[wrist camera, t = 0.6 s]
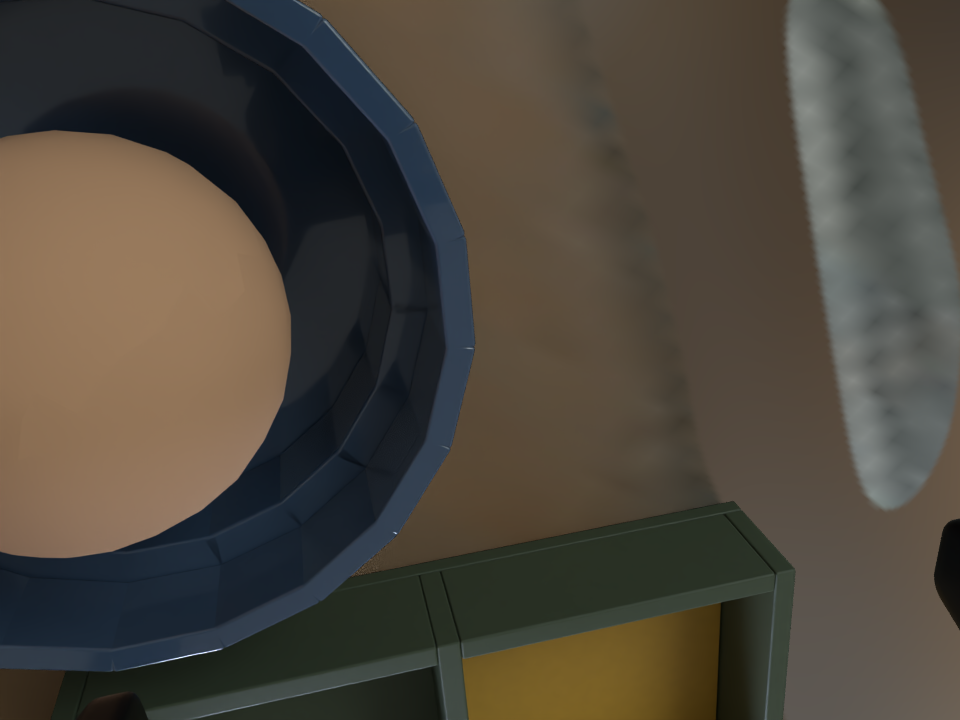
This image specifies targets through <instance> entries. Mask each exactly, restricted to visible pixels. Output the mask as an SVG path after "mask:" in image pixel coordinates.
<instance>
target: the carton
mask: <svg viewBox="0 0 960 720" xmlns="http://www.w3.org/2000/svg"><path fill="white" fill-rule="evenodd" d="M794 582H795V568H793V566H792V565H791V564H790V563H789V562H788V561H787V560H786V558H785V557H784V556H783V555H782V554H781V553H780V552H779V551H778V550H777V549H776V547H774V545H773V544H772V543H771V542H770V541H769V540H768V539H767V538H766V537H765V535H764V534H763V533H762V532H761V531H760V530H759V529H758V528H757V526H755V524H754V523H753V522H752V521H751V520H750V519H749V518H748V517H747V516H746V514H745V513H744V512H743V511H741V509H740V508H739V506H738V505H737V504H736V503H735V502H734V501H731V502H726V503H721V504H716V505H711V506H706V507H701V508H696V509H691V510H686V511H681V512H676V513H671V514H666V515H661V516H656V517H651V518H646V519H641V520H636V521H631V522H626V523H621V524H616V525H611V526H606V527H601V528H596V529H591V530H586V531H581V532H576V533H571V534H566V535H561V536H556V537H551V538H546V539H541V540H536V541H531V542H526V543H521V544H516V545H511V546H506V547H501V548H496V549H491V550H486V551H481V552H476V553H471V554H466V555H461V556H456V557H451V558H446V559H441V560H436V561H431V562H426V563H421V564H416V565H411V566H406V567H401V568H396V569H391V570H386V571H381V572H376V573H371V574H366V575H361V576H356V577H351V578H348V579H347V580H346V581H344V582H343V583H342V584H341V585H340V586H339V587H338V588H336V589H335V590H334V591H333V592H332V593H331V594H330V595H328V596H327V597H326V598H325V599H324V600H323V601H319V603H317V604H316V605H314V606H311V607H309V608H307V609H305V610H303V611H301V612H299V613H297V614H295V615H293V616H291V617H289V618H287V619H285V620H283V621H281V622H278V623H276V624H274V625H272V626H270V627H268V628H266V629H264V630H262V631H260V632H258V633H256V634H254V635H252V636H250V637H248V638H246V639H243V640H241V641H239V642H237V643H235V644H233V645H231V646H229V647H226V648H225V647H224V649H222V650H218V651H213V652H208V653H203V654H198V655H194V656H189V657H184V658H179V659H174V660H170V661H165V662H160V663H155V664H150V665H146V666H141V667H136V668H131V669H126V670H122V671H114V670H113V671H112V672H101V671H66V672H65V675H64V678H63V681H62V685H61V688H60V691H59V694H58V697H57V700H56V704H55V707H54V710H53V713H52V716H51V720H76V718H77V717H78V716H79V715H80V713H81V712H82V711H83V710H84V708H85V707H86V706H87V705H88V704H89V703H90V702H91V701H92V700H94V699H96V698H98V697H103V696H108V695H112V694H117V693H122V692H127V691H129V692H134V693H135V694H136V695H137V696H138V697H139V699H140V700H141V703H142V705H143V707H144V710H145V712H146V714H147V717H148V719H149V720H783V710H784V699H785V687H786V675H787V664H788V652H789V640H790V629H791V617H792V606H793V594H794Z"/></svg>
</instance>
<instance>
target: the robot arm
mask: <svg viewBox="0 0 960 720" xmlns="http://www.w3.org/2000/svg"><path fill="white" fill-rule="evenodd" d="M934 580H935V586H936V589H937V592H938V594H939V596H940V598H941V600H942V602H943V603H944V605H945V607H946V608H947V610H948V611H949V613H950V615H951V617H952V618H953V620H954V621H955V623H956V625H957V626H958V628H959V630H960V519H956V520H952V521H950V522H948V523H947V524H946V526H945V527H944V529H943V532H942V537H941V542H940V547H939V552H938V557H937V562H936V567H935V572H934ZM76 720H149V719H148V717H147V714H146V712H145V710H144V707H143V705H142V703H141V700H140V699H139V697H138V696H137V695H136V694H135V693H134V692H129V691H127V692H122V693H117V694H112V695H108V696H103V697H98V698H96V699H94V700H92V701H91V702H90V703H89V704H88V705H87V706H86V707H85V708H84V710H83V711H82V712H81V713H80V715H79V716H78V717H77V718H76Z"/></svg>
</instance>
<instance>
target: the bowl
mask: <svg viewBox="0 0 960 720" xmlns="http://www.w3.org/2000/svg"><path fill="white" fill-rule="evenodd" d="M52 130H57V131H71V132H84V133H98V134H111V135H115V136H118V137H121V138H124V139H127V140H130V141H133V142H136V143H139V144H142V145H145V146H149V147H152V148H155V149H158V150H161V151H164V152H167V153H169V154H170V155H172V156H174V157H176V158H178V159H179V160H181V161H183V162H185V163H187V164H189V165H190V166H191V167H193V168H194V169H195V170H196V171H198V172H199V173H200V174H202V175H203V176H204V177H205V178H207V179H208V180H209V181H210V182H212V183H213V184H214V185H215V186H217V187H218V188H219V189H221V190H222V191H223V192H224V193H226V194H227V195H228V196H229V197H231V198H232V199H233V200H234V201H236V203H237V204H238V205H239V207H240V208H241V209H242V210H243V212H244V213H245V214H246V216H247V217H248V218H249V220H250V221H251V222H252V224H253V225H254V226H255V228H256V229H257V230H258V232H259V233H260V234H261V236H262V237H263V238H264V240H265V242H266V244H267V246H268V248H269V250H270V252H271V254H272V256H273V259H274V261H275V263H276V265H277V267H278V269H279V271H280V273H281V276H282V280H283V284H284V288H285V293H286V297H287V301H288V305H289V310H290V314H291V357H290V363H289V369H288V374H287V380H286V386H285V392H284V398H283V401H282V403H281V405H280V408H279V410H278V412H277V414H276V416H275V418H274V420H273V422H272V425H271V427H270V429H269V431H268V433H267V435H266V437H265V439H264V441H263V443H262V444H261V446H260V447H259V449H258V450H257V452H256V453H255V455H254V456H253V457H252V459H251V460H250V462H249V463H248V465H247V466H246V468H245V469H244V471H243V472H242V474H241V475H240V476H239V478H238V479H237V480H236V481H235V482H234V483H233V484H232V485H230V486H229V487H228V488H227V489H226V490H225V491H223V492H222V493H221V494H220V495H219V496H218V497H216V498H215V499H214V500H213V501H212V502H211V503H209V504H208V505H207V506H206V507H205V508H204V509H202V510H201V511H199V512H198V513H196V514H194V515H192V516H190V517H188V518H187V519H185V520H183V521H181V522H179V523H178V524H176V525H174V526H172V527H170V528H169V529H167V530H165V531H163V532H161V533H160V534H158V535H156V536H153V537H151V538H148V539H145V540H142V541H140V542H137V543H134V544H131V545H129V546H126V547H123V548H120V549H118V550H115V551H112V552H105V553H99V554H92V555H86V556H79V557H72V558H40V557H30V556H19V555H12V554H8V553H4V552H0V669H27V670H64V671H101V672H112V671H113V670H114V671H122V670H126V669H131V668H136V667H141V666H146V665H150V664H155V663H160V662H165V661H170V660H174V659H179V658H184V657H189V656H194V655H198V654H203V653H208V652H213V651H218V650H222V649H224V647H225V648H226V647H229V646H231V645H233V644H235V643H237V642H239V641H241V640H243V639H246V638H248V637H250V636H252V635H254V634H256V633H258V632H260V631H262V630H264V629H266V628H268V627H270V626H272V625H274V624H276V623H278V622H281V621H283V620H285V619H287V618H289V617H291V616H293V615H295V614H297V613H299V612H301V611H303V610H305V609H307V608H309V607H311V606H314V605H316V604H317V603H319V601H323V600H324V599H325V598H326V597H327V596H328V595H330V594H331V593H332V592H333V591H334V590H335V589H336V588H338V587H339V586H340V585H341V584H342V583H343V582H344V581H346V580H347V579H348V578H349V577H350V576H351V575H352V574H353V573H355V572H356V571H357V570H358V569H359V568H360V567H361V566H363V565H364V564H365V563H366V562H367V561H368V560H369V559H371V558H372V557H373V556H374V555H375V554H376V553H377V552H379V551H380V550H381V549H382V548H383V547H384V546H385V545H387V544H388V543H389V542H390V541H391V540H392V539H393V538H394V537H396V535H397V534H398V533H399V532H400V530H401V529H402V527H403V525H404V524H405V522H406V521H407V519H408V517H409V516H410V514H411V513H412V511H413V509H414V508H415V506H416V504H417V503H418V501H419V500H420V498H421V496H422V495H423V493H424V492H425V490H426V488H427V487H428V485H429V484H430V482H431V480H432V479H433V477H434V475H435V474H436V472H437V471H438V469H439V467H440V466H441V464H442V463H443V461H444V459H445V458H446V456H447V455H448V453H449V451H450V447H451V445H452V442H453V438H454V434H455V430H456V426H457V422H458V417H459V413H460V409H461V405H462V401H463V397H464V393H465V389H466V384H467V380H468V376H469V372H470V368H471V364H472V360H473V356H474V352H475V348H474V346H475V333H474V322H473V310H472V299H471V288H470V277H469V265H468V254H467V243H466V238H465V236H464V230H463V228H462V225H461V223H460V221H459V218H458V216H457V214H456V212H455V209H454V207H453V205H452V202H451V200H450V198H449V196H448V193H447V191H446V189H445V186H444V184H443V182H442V179H441V177H440V175H439V173H438V170H437V168H436V166H435V163H434V161H433V159H432V156H431V154H430V152H429V150H428V147H427V145H426V143H425V140H424V138H423V136H422V134H421V131H420V129H419V127H418V125H417V124H416V123H415V122H414V119H413V117H412V116H411V115H410V114H409V113H408V111H407V110H406V109H405V108H404V107H403V106H402V105H401V103H400V102H399V101H398V100H397V99H396V98H395V97H394V95H393V94H392V93H391V92H390V91H389V90H388V89H387V87H386V86H385V85H384V84H383V83H382V82H381V81H380V79H379V78H378V77H377V76H376V75H375V74H374V73H373V71H372V70H371V69H370V68H369V67H368V66H367V65H366V63H365V62H364V61H363V60H362V59H361V58H360V57H359V55H358V54H357V53H356V52H355V51H354V50H353V49H352V47H351V46H350V45H349V44H348V43H347V42H346V41H345V40H344V38H343V37H342V36H341V35H340V34H339V33H338V32H337V30H336V29H335V28H334V27H333V26H332V25H331V24H330V22H329V21H328V20H327V19H325V18H323V17H322V15H321V14H320V13H318V12H317V11H315V10H313V9H312V8H310V7H309V6H307V5H305V4H304V3H302V2H300V1H299V0H0V138H3V137H6V136H12V135H20V134H28V133H36V132H44V131H52Z"/></svg>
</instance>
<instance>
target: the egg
mask: <svg viewBox="0 0 960 720" xmlns="http://www.w3.org/2000/svg"><path fill="white" fill-rule="evenodd" d="M290 357H291V314H290V310H289V305H288V301H287V297H286V293H285V288H284V284H283V280H282V276H281V273H280V271H279V269H278V267H277V265H276V263H275V261H274V259H273V256H272V254H271V252H270V250H269V248H268V246H267V244H266V242H265V240H264V238H263V237H262V236H261V234H260V233H259V232H258V230H257V229H256V228H255V226H254V225H253V224H252V222H251V221H250V220H249V218H248V217H247V216H246V214H245V213H244V212H243V210H242V209H241V208H240V207H239V205H238V204H237V203H236V201H234V200H233V199H232V198H231V197H229V196H228V195H227V194H226V193H224V192H223V191H222V190H221V189H219V188H218V187H217V186H215V185H214V184H213V183H212V182H210V181H209V180H208V179H207V178H205V177H204V176H203V175H202V174H200V173H199V172H198V171H196V170H195V169H194V168H193V167H191V166H190V165H189V164H187V163H185V162H183V161H181V160H179V159H178V158H176V157H174V156H172V155H170V154H169V153H167V152H164V151H161V150H158V149H155V148H152V147H149V146H145V145H142V144H139V143H136V142H133V141H130V140H127V139H124V138H121V137H118V136H115V135H111V134H98V133H84V132H71V131H57V130H52V131H44V132H36V133H28V134H20V135H12V136H6V137H3V138H0V552H4V553H8V554H12V555H19V556H30V557H40V558H72V557H79V556H86V555H92V554H99V553H105V552H112V551H115V550H118V549H120V548H123V547H126V546H129V545H131V544H134V543H137V542H140V541H142V540H145V539H148V538H151V537H153V536H156V535H158V534H160V533H161V532H163V531H165V530H167V529H169V528H170V527H172V526H174V525H176V524H178V523H179V522H181V521H183V520H185V519H187V518H188V517H190V516H192V515H194V514H196V513H198V512H199V511H201V510H202V509H204V508H205V507H206V506H207V505H208V504H209V503H211V502H212V501H213V500H214V499H215V498H216V497H218V496H219V495H220V494H221V493H222V492H223V491H225V490H226V489H227V488H228V487H229V486H230V485H232V484H233V483H234V482H235V481H236V480H237V479H238V478H239V476H240V475H241V474H242V472H243V471H244V469H245V468H246V466H247V465H248V463H249V462H250V460H251V459H252V457H253V456H254V455H255V453H256V452H257V450H258V449H259V447H260V446H261V444H262V443H263V441H264V439H265V437H266V435H267V433H268V431H269V429H270V427H271V425H272V422H273V420H274V418H275V416H276V414H277V412H278V410H279V408H280V405H281V403H282V401H283V398H284V392H285V386H286V380H287V374H288V369H289V363H290Z"/></svg>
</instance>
